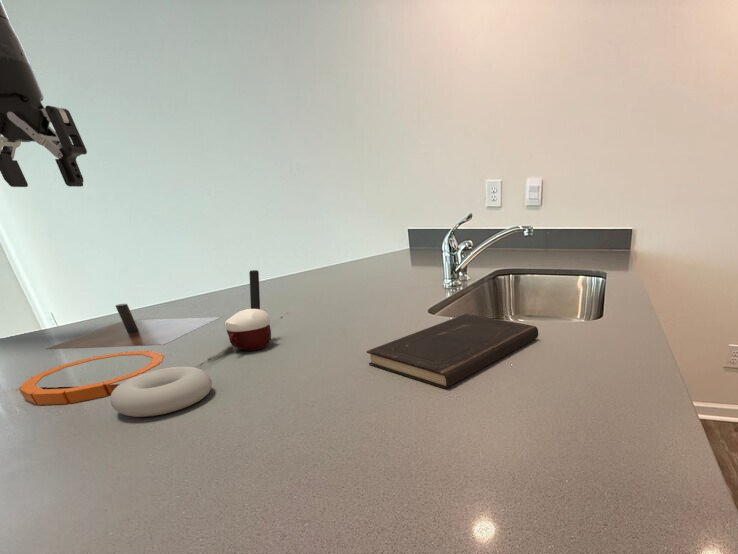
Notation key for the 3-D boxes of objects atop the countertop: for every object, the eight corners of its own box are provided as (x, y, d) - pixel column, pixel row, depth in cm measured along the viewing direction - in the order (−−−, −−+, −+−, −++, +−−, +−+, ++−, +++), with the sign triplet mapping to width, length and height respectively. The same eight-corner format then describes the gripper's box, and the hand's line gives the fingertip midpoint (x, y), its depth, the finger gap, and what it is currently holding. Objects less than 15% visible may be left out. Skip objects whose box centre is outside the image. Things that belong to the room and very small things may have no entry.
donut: (143, 391, 55) (97, 428, 46) (133, 368, 54) (83, 400, 45) (227, 381, 57) (197, 414, 48) (219, 359, 56) (187, 388, 47)
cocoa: (241, 359, 65) (215, 283, 59) (218, 353, 67) (192, 279, 62) (294, 340, 72) (275, 271, 67) (271, 335, 75) (252, 269, 70)
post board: (49, 357, 67) (27, 319, 64) (126, 327, 82) (112, 295, 79) (167, 353, 68) (151, 315, 65) (223, 324, 82) (212, 292, 79)
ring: (-8, 407, 51) (-16, 396, 51) (94, 362, 65) (89, 352, 64) (112, 402, 52) (106, 391, 51) (189, 358, 65) (185, 349, 65)
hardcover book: (369, 365, 61) (366, 350, 60) (467, 325, 78) (466, 313, 77) (447, 390, 53) (446, 374, 52) (538, 339, 70) (538, 326, 69)
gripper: (68, 65, 60) (114, 187, 67) (-32, 64, 60) (25, 187, 67) (13, 48, 53) (71, 186, 60) (-100, 48, 53) (-28, 186, 60)
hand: (47, 186), depth 63 cm, fingers open, 8 cm apart
